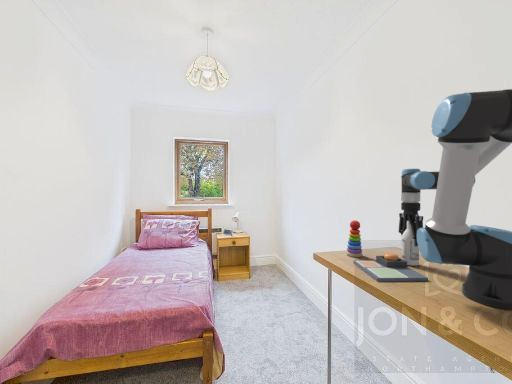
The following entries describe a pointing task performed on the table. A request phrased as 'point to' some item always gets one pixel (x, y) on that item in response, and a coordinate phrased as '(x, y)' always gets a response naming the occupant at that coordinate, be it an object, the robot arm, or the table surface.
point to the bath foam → (409, 247)
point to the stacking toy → (354, 240)
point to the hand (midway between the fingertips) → (410, 250)
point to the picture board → (389, 270)
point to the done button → (391, 257)
